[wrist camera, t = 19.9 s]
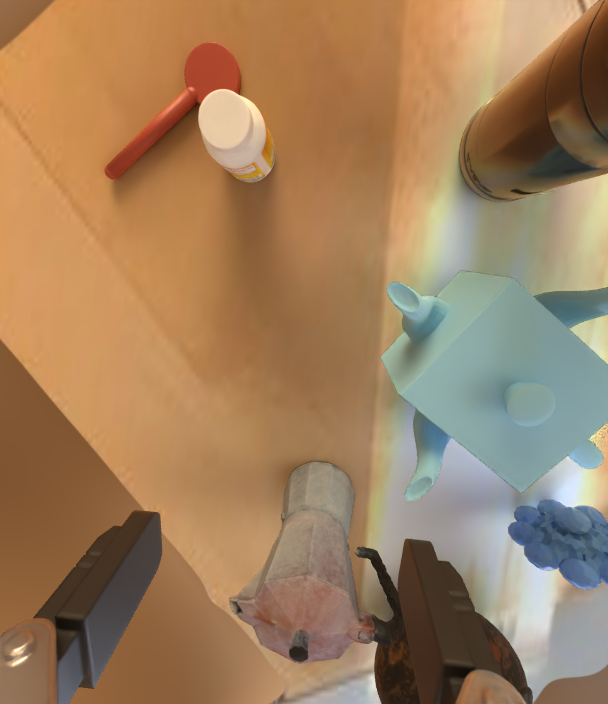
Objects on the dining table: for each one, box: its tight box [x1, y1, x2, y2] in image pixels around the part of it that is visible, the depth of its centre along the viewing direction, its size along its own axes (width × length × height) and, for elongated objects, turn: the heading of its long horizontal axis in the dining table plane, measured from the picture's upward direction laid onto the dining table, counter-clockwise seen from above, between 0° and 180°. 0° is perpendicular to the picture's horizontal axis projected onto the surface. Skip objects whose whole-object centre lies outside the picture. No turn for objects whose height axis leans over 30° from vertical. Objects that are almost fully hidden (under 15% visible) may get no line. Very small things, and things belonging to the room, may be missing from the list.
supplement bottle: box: [198, 89, 275, 182], centre depth 31 cm, size 5×5×10 cm
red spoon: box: [105, 42, 241, 179], centre depth 35 cm, size 17×5×1 cm, turn 126°
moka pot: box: [229, 461, 405, 663], centre depth 36 cm, size 10×15×20 cm, turn 90°
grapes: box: [508, 500, 608, 590], centre depth 38 cm, size 12×7×12 cm, turn 106°
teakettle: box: [380, 270, 608, 501], centre depth 33 cm, size 19×19×15 cm
